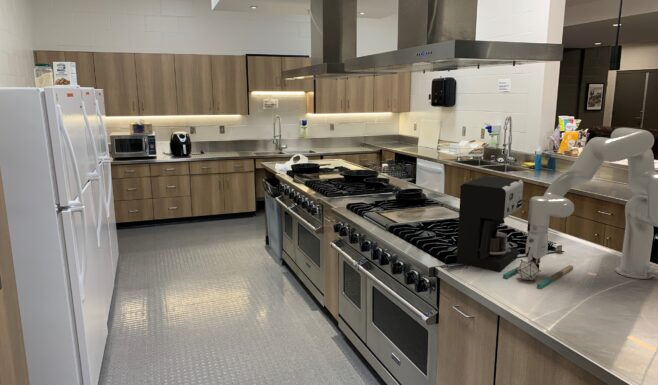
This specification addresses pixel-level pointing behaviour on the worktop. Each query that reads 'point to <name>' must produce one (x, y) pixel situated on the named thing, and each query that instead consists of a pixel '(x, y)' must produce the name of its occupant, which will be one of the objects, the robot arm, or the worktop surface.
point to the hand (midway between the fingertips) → (533, 272)
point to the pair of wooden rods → (546, 281)
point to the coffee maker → (487, 221)
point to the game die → (528, 270)
